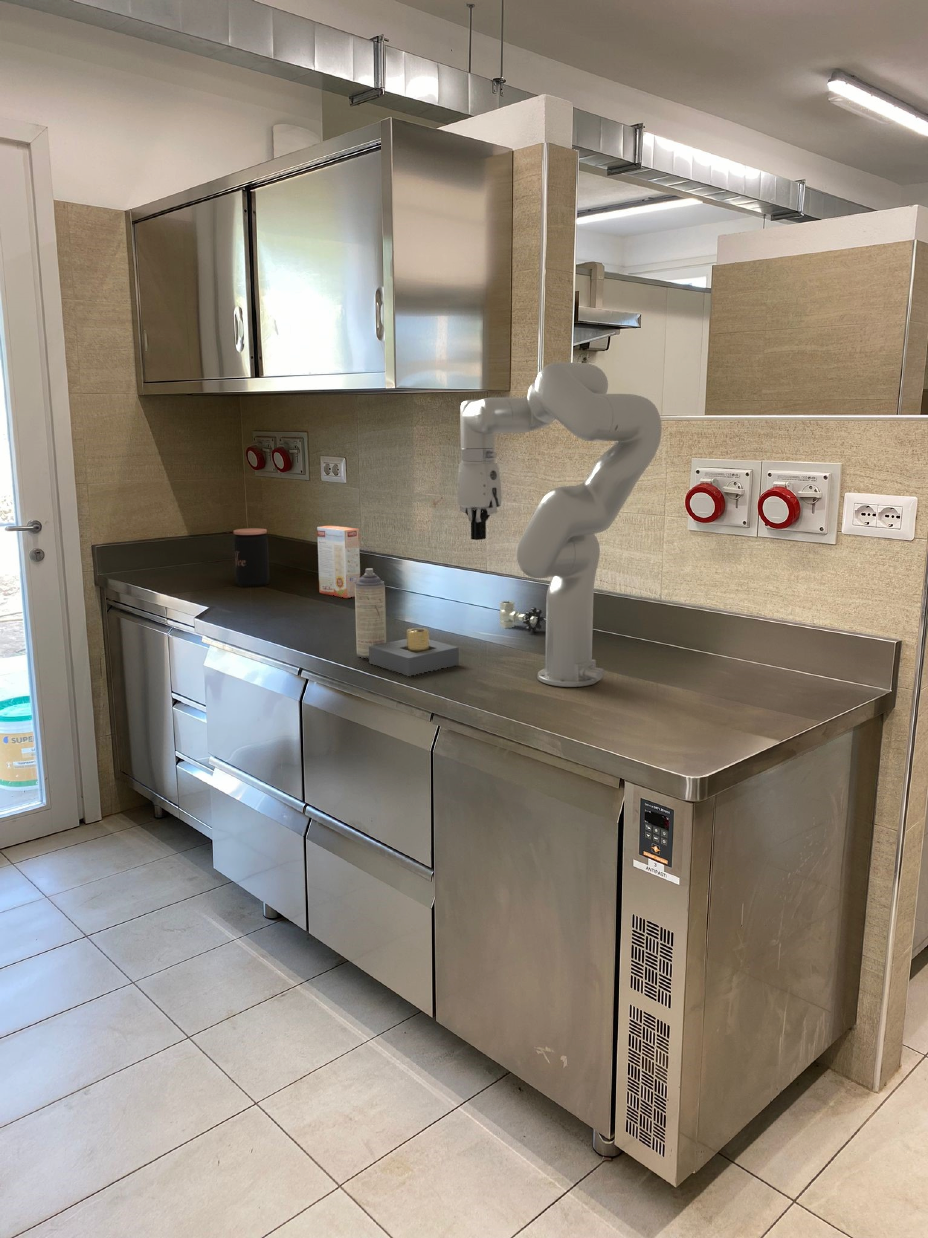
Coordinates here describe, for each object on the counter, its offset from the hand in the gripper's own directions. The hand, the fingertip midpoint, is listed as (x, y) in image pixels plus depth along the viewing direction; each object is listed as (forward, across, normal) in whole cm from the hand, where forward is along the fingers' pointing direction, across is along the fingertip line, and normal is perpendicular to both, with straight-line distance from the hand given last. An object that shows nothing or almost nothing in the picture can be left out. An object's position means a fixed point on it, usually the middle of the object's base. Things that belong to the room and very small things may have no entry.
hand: (478, 538), depth 209 cm
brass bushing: (+26, +1, +18) cm, 32 cm away
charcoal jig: (+26, +2, +18) cm, 32 cm away
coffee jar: (+25, +115, -11) cm, 118 cm away
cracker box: (+26, +81, -21) cm, 87 cm away
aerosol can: (+26, +16, +19) cm, 36 cm away
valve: (+26, +10, -24) cm, 37 cm away
